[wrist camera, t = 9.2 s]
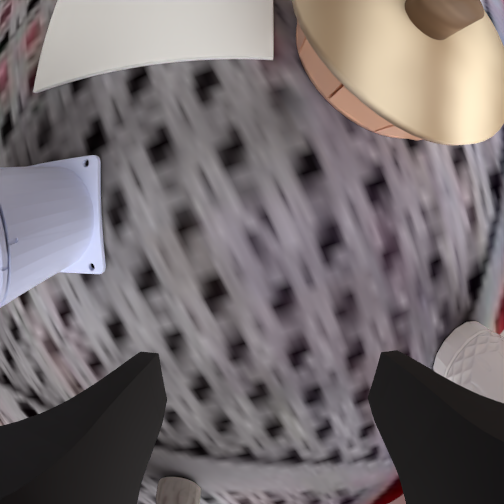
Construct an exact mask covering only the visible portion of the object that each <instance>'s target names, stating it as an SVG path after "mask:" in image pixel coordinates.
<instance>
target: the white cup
mask: <svg viewBox="0 0 504 504" xmlns="http://www.w3.org/2000/svg"><path fill="white" fill-rule="evenodd" d="M433 370H434V372H436V373H438V374H440V375H441V376H443V377H445V378H447V379H449V380H451V381H452V382H454V383H456V384H458V385H460V386H462V387H464V388H466V389H468V390H470V391H472V392H475V393H477V394H479V395H482V396H485V397H487V398H490V399H493V400H495V401H498V402H501V403H504V337H503V336H501V335H499V334H498V333H494V332H492V331H491V330H489V329H488V328H486V327H485V326H483V325H482V324H480V323H479V322H477V321H471V322H466V323H464V324H462V325H461V326H459V327H457V328H456V329H455V330H454V331H453V332H452V333H451V334H450V335H449V336H448V337H447V338H446V339H445V340H444V342H443V344H442V346H441V347H440V349H439V351H438V353H437V354H436V358H435V362H434V366H433Z"/></svg>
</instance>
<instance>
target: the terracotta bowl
mask: <svg viewBox="0 0 504 504" xmlns="http://www.w3.org/2000/svg"><path fill="white" fill-rule="evenodd" d="M296 45H297V50H298V54H299V58H300V60H301V63H302V65H303V68H304V70H305V72H306V73H307V75H308V77H309V79H310V80H311V82H312V83H313V84H314V86H315V87H316V89H317V90H318V91H319V92H320V94H321V95H322V96H323V97H324V98H325V99H326V100H327V101H328V102H329V103H330V104H331V105H332V106H333V107H334V108H335V109H336V110H337V111H339V112H340V113H341V114H342V115H344V116H345V117H346V118H348V119H349V120H351V121H352V122H354V123H355V124H357V125H359V126H361V127H363V128H365V129H367V130H369V131H371V132H374V133H377V134H379V135H383V136H387V137H391V138H399V139H413V140H423V139H421V138H418V137H416V136H413V135H411V134H409V133H407V132H405V131H403V130H401V129H399V128H397V127H396V126H394V125H392V124H391V123H389V122H388V121H386V120H385V119H383V118H382V117H380V116H379V115H377V114H376V113H375V112H374V111H372V110H371V109H370V108H368V107H367V106H366V105H364V104H363V103H362V102H361V101H360V100H359V99H358V98H356V97H355V96H354V95H353V94H352V93H351V92H350V91H349V90H347V89H346V88H345V87H344V85H343V84H342V83H341V82H340V81H339V80H338V79H337V78H336V77H335V76H334V75H333V74H332V73H331V72H330V70H329V69H328V68H327V67H326V66H325V64H324V63H323V62H322V61H321V60H320V58H319V57H318V55H317V54H316V52H315V51H314V50H313V48H312V47H311V45H310V44H309V42H308V40H307V39H306V37H305V35H304V33H303V31H302V29H301V28H300V25H299V23H298V20H297V26H296Z"/></svg>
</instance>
